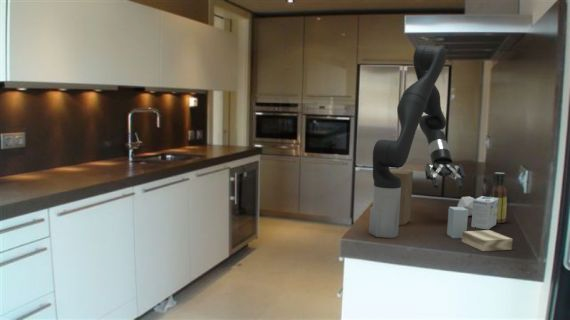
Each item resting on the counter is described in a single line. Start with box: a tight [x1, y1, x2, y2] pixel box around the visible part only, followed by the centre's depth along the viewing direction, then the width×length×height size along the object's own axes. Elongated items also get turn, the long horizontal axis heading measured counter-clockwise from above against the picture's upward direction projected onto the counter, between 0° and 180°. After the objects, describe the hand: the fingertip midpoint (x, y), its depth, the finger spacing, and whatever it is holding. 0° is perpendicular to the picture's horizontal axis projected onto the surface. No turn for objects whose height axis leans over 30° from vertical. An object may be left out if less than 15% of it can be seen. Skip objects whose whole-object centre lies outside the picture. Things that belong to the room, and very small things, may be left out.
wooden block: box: [389, 168, 414, 227], centre depth 191 cm, size 10×10×20 cm
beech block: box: [461, 229, 514, 252], centre depth 163 cm, size 11×11×4 cm
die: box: [456, 195, 476, 217], centre depth 207 cm, size 8×9×10 cm
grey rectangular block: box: [446, 206, 469, 239], centre depth 173 cm, size 5×5×10 cm
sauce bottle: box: [489, 171, 508, 224], centre depth 196 cm, size 7×6×20 cm
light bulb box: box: [470, 195, 498, 230], centre depth 189 cm, size 11×7×11 cm, turn 142°
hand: (448, 187), depth 184 cm, fingers open, 8 cm apart
